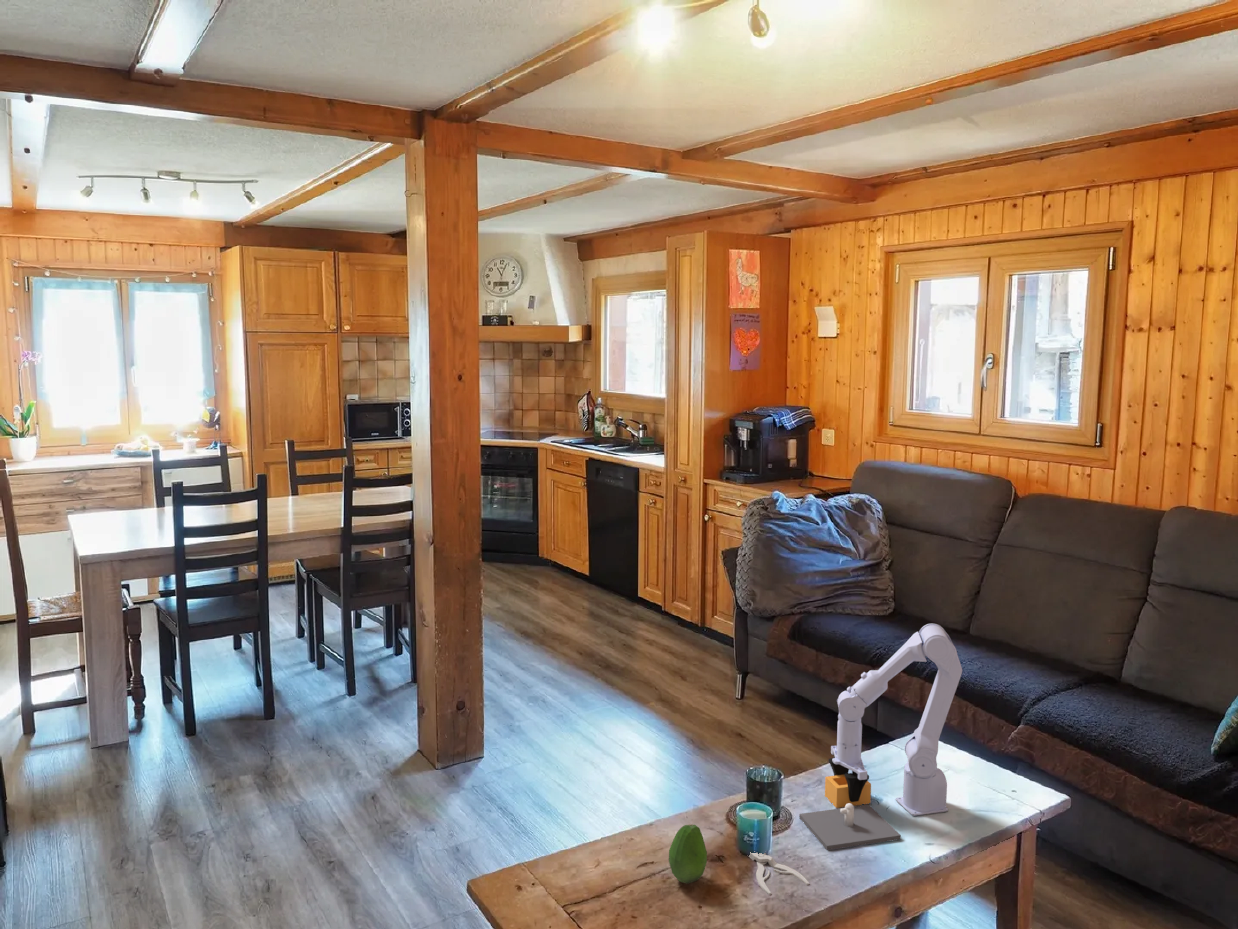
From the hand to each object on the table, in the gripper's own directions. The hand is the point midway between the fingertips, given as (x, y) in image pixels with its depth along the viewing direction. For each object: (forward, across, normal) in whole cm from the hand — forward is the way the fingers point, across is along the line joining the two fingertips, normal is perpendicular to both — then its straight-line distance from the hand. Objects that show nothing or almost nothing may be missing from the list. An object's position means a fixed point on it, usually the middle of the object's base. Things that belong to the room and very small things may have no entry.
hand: (847, 794), depth 216 cm
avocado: (+2, +22, -48) cm, 53 cm away
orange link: (+1, 0, 0) cm, 1 cm away
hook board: (+1, +12, -6) cm, 13 cm away
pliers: (+2, +23, -30) cm, 38 cm away
